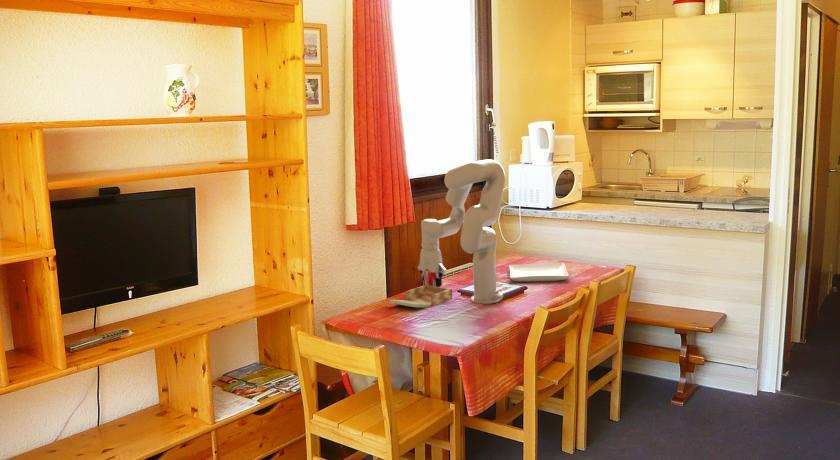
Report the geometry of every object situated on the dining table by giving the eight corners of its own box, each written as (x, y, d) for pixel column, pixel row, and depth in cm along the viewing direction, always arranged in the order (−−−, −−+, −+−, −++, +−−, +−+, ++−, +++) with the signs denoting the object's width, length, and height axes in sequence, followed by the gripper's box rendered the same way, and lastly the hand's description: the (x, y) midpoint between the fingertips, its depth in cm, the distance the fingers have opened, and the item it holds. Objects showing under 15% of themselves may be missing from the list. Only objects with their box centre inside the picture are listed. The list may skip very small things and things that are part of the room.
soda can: (438, 294, 343) (437, 267, 341) (423, 294, 344) (422, 267, 342) (441, 290, 350) (440, 264, 348) (426, 290, 351) (425, 264, 349)
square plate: (564, 270, 380) (564, 262, 379) (569, 283, 353) (569, 275, 352) (509, 271, 383) (508, 263, 382) (509, 284, 356) (509, 276, 355)
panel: (406, 300, 330) (389, 299, 322) (431, 304, 321) (415, 304, 313) (406, 302, 330) (389, 302, 322) (431, 307, 321) (414, 307, 313)
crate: (425, 295, 341) (424, 284, 340) (452, 300, 331) (451, 289, 330) (406, 302, 331) (405, 291, 330) (433, 307, 322) (432, 295, 321)
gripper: (410, 246, 346) (412, 285, 349) (440, 249, 335) (442, 289, 338) (421, 243, 352) (423, 281, 355) (451, 246, 341) (452, 286, 344)
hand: (432, 285), depth 347 cm, fingers closed on soda can, 6 cm apart
